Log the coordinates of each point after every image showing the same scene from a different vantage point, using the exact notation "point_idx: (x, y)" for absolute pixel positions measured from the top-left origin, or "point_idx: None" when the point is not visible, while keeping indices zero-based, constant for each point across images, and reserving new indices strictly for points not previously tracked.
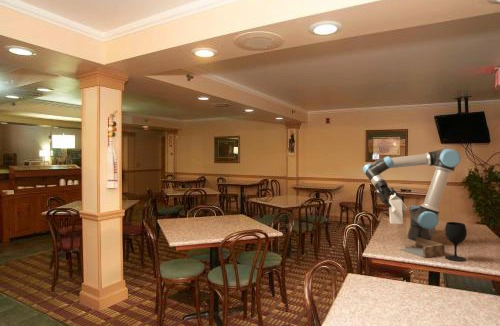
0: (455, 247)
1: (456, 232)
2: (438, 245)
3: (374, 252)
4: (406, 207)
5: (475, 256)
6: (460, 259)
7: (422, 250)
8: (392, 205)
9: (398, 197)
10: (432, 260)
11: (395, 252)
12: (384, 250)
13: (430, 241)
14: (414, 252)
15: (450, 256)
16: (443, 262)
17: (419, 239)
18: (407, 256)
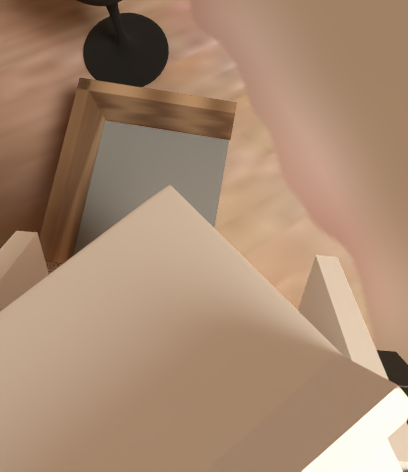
0: (117, 6)
1: None
2: (129, 86)
3: (371, 331)
4: (29, 239)
5: (17, 20)
6: (138, 24)
7: (125, 198)
8: (362, 327)
9: (228, 260)
10: (239, 93)
11: (271, 265)
12: None
13: (73, 156)
14: (196, 202)
15: (131, 64)
16: (226, 55)
17: (57, 233)
18: (281, 189)
